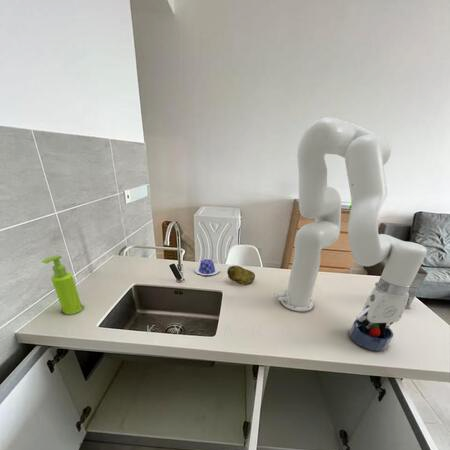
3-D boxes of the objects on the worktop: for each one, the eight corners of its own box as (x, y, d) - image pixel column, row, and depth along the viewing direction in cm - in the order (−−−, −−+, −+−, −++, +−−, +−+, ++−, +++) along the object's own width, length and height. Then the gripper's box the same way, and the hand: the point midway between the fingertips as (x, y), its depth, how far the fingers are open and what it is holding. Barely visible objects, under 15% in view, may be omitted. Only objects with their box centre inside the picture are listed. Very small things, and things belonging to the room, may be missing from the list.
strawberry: (367, 341, 77) (373, 329, 74) (359, 332, 81) (364, 320, 78) (380, 341, 77) (386, 329, 75) (372, 332, 81) (377, 320, 78)
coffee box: (384, 295, 107) (400, 261, 98) (400, 297, 106) (417, 263, 97) (392, 306, 99) (410, 270, 91) (409, 309, 98) (429, 273, 90)
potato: (255, 287, 107) (257, 271, 103) (226, 286, 107) (227, 269, 103) (254, 279, 114) (256, 263, 110) (226, 277, 114) (227, 261, 110)
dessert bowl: (361, 352, 75) (367, 340, 72) (342, 329, 84) (347, 318, 81) (394, 351, 76) (401, 339, 73) (372, 329, 85) (378, 317, 83)
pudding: (189, 272, 117) (189, 262, 114) (202, 264, 126) (202, 254, 123) (211, 278, 112) (211, 268, 110) (223, 269, 121) (223, 259, 119)
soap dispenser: (56, 313, 84) (35, 258, 73) (73, 303, 89) (56, 251, 79) (69, 317, 82) (49, 262, 72) (85, 307, 88) (70, 255, 77)
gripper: (373, 292, 65) (352, 344, 75) (430, 292, 67) (402, 342, 76) (358, 280, 72) (340, 329, 81) (410, 280, 73) (386, 328, 83)
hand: (370, 335), depth 79 cm, fingers closed on strawberry, 4 cm apart
